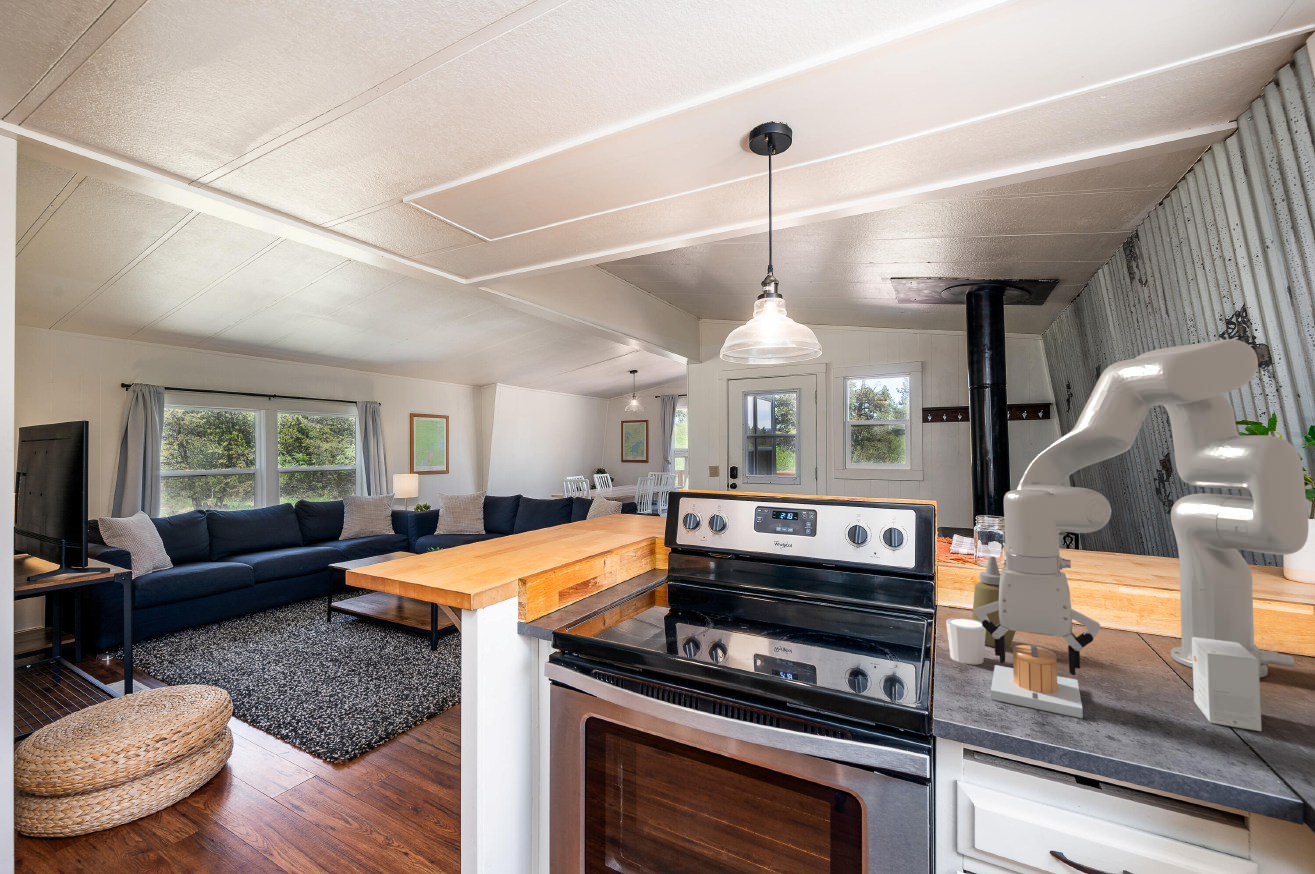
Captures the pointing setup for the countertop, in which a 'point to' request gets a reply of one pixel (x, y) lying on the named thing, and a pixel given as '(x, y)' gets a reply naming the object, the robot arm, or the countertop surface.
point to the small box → (1226, 683)
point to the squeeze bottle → (990, 599)
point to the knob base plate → (1037, 694)
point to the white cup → (966, 640)
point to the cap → (1035, 668)
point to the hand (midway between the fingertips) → (1036, 665)
